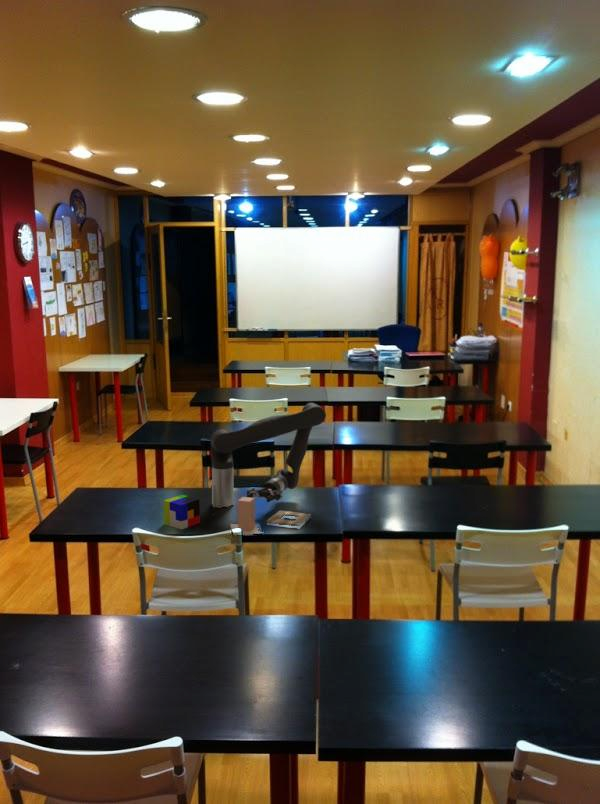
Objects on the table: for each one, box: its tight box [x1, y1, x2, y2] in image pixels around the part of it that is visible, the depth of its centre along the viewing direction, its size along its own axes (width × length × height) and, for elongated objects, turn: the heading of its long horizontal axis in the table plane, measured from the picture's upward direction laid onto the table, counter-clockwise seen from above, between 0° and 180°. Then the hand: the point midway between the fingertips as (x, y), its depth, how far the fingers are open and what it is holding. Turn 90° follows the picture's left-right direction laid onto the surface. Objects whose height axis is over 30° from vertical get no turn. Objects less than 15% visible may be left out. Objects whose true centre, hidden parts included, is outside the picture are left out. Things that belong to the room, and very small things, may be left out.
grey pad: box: [229, 522, 264, 537], centre depth 280 cm, size 12×12×1 cm
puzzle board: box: [266, 509, 312, 526], centre depth 289 cm, size 14×14×2 cm
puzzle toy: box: [163, 494, 201, 530], centre depth 286 cm, size 10×10×10 cm
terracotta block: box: [237, 496, 256, 531], centre depth 279 cm, size 5×5×12 cm
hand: (257, 498), depth 288 cm, fingers open, 8 cm apart
